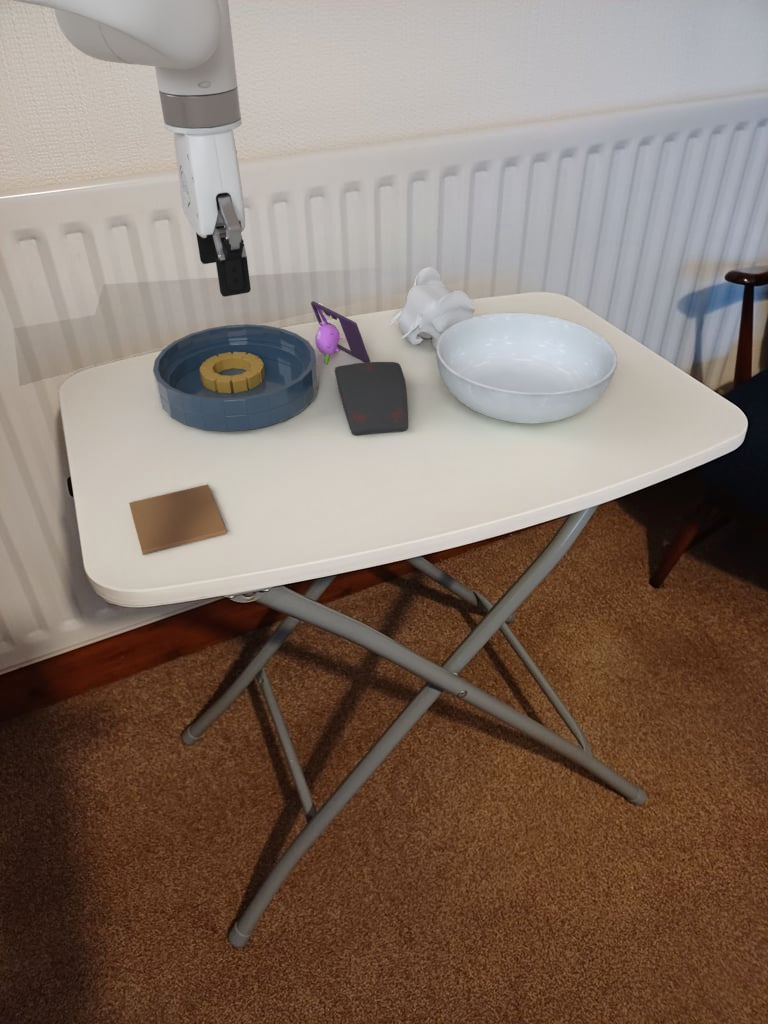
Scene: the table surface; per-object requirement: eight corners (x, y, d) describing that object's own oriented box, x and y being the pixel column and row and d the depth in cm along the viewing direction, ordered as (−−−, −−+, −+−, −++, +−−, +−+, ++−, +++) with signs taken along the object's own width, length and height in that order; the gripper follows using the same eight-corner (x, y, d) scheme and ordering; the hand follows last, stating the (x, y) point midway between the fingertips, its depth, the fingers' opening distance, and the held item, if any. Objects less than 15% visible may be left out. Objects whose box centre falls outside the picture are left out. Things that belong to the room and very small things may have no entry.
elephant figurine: (380, 335, 109) (379, 273, 104) (457, 320, 113) (460, 259, 107) (408, 365, 102) (409, 300, 97) (489, 348, 106) (494, 285, 100)
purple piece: (360, 319, 98) (316, 297, 103) (330, 344, 96) (287, 320, 101) (374, 359, 103) (331, 336, 108) (346, 383, 101) (304, 359, 107)
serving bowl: (635, 438, 89) (648, 385, 84) (454, 455, 86) (458, 401, 82) (573, 353, 105) (581, 305, 100) (419, 365, 102) (420, 316, 98)
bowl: (177, 449, 87) (170, 414, 84) (148, 372, 101) (141, 340, 98) (339, 414, 93) (337, 380, 90) (290, 345, 107) (288, 314, 104)
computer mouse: (395, 374, 100) (395, 345, 98) (415, 431, 90) (415, 401, 87) (332, 379, 99) (331, 350, 97) (345, 437, 89) (344, 407, 86)
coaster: (142, 555, 73) (141, 551, 73) (129, 506, 79) (128, 502, 79) (226, 533, 76) (226, 529, 76) (208, 488, 82) (207, 484, 81)
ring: (209, 398, 95) (207, 386, 94) (195, 369, 100) (194, 358, 99) (271, 385, 97) (270, 374, 96) (255, 358, 103) (253, 347, 102)
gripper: (147, 94, 82) (176, 255, 93) (180, 133, 70) (209, 313, 80) (218, 88, 84) (238, 245, 95) (262, 125, 72) (279, 301, 83)
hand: (225, 276), depth 88 cm, fingers open, 9 cm apart
